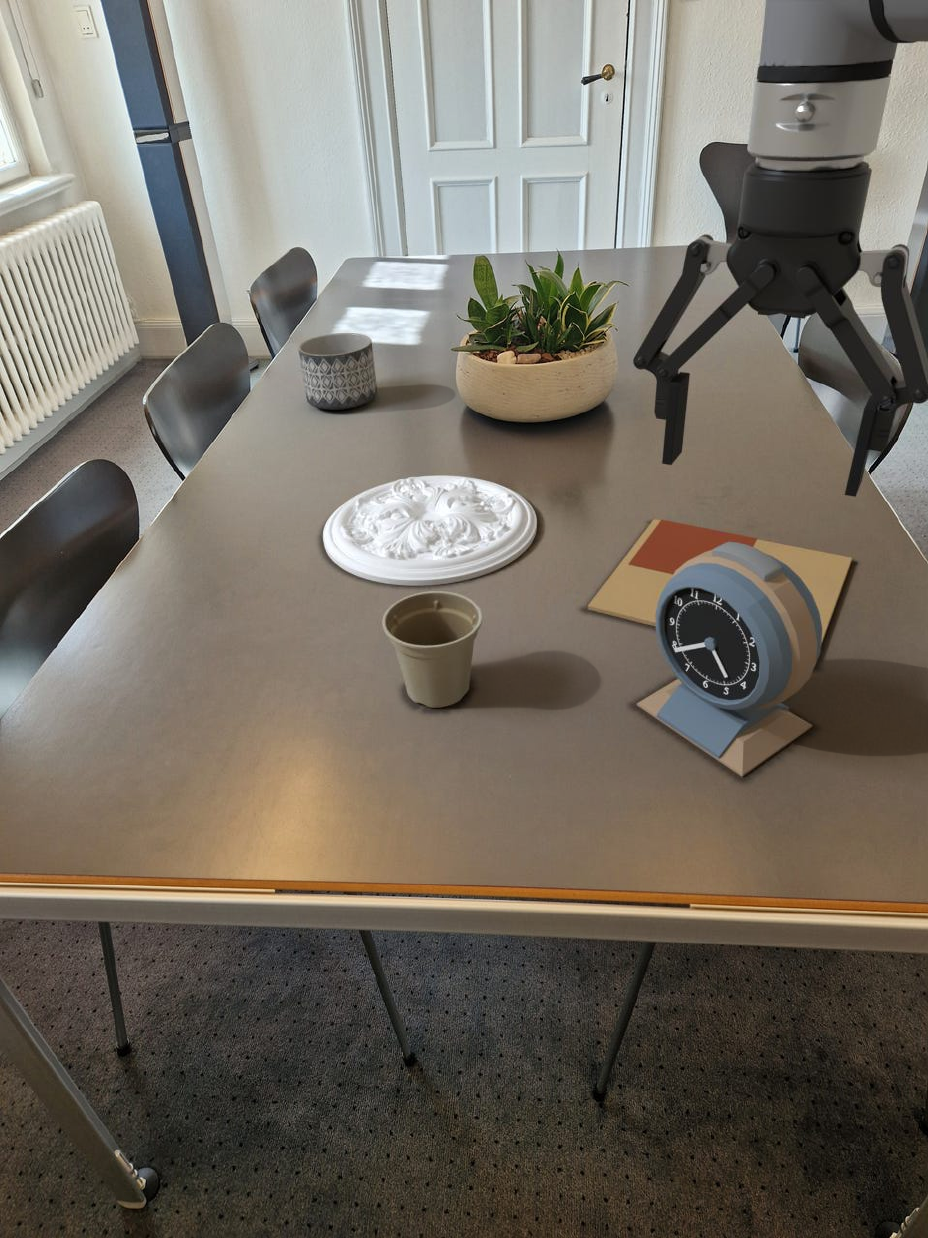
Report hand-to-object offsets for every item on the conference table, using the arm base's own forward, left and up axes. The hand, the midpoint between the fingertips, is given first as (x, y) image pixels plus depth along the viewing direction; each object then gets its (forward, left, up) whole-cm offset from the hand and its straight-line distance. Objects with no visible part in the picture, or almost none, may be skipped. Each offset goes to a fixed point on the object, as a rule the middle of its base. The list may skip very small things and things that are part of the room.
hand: (758, 472), depth 65 cm
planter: (+83, -54, -25) cm, 102 cm away
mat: (+6, -22, -25) cm, 33 cm away
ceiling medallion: (+44, -20, -25) cm, 54 cm away
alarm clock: (0, 0, -25) cm, 25 cm away
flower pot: (+26, +8, -25) cm, 37 cm away
